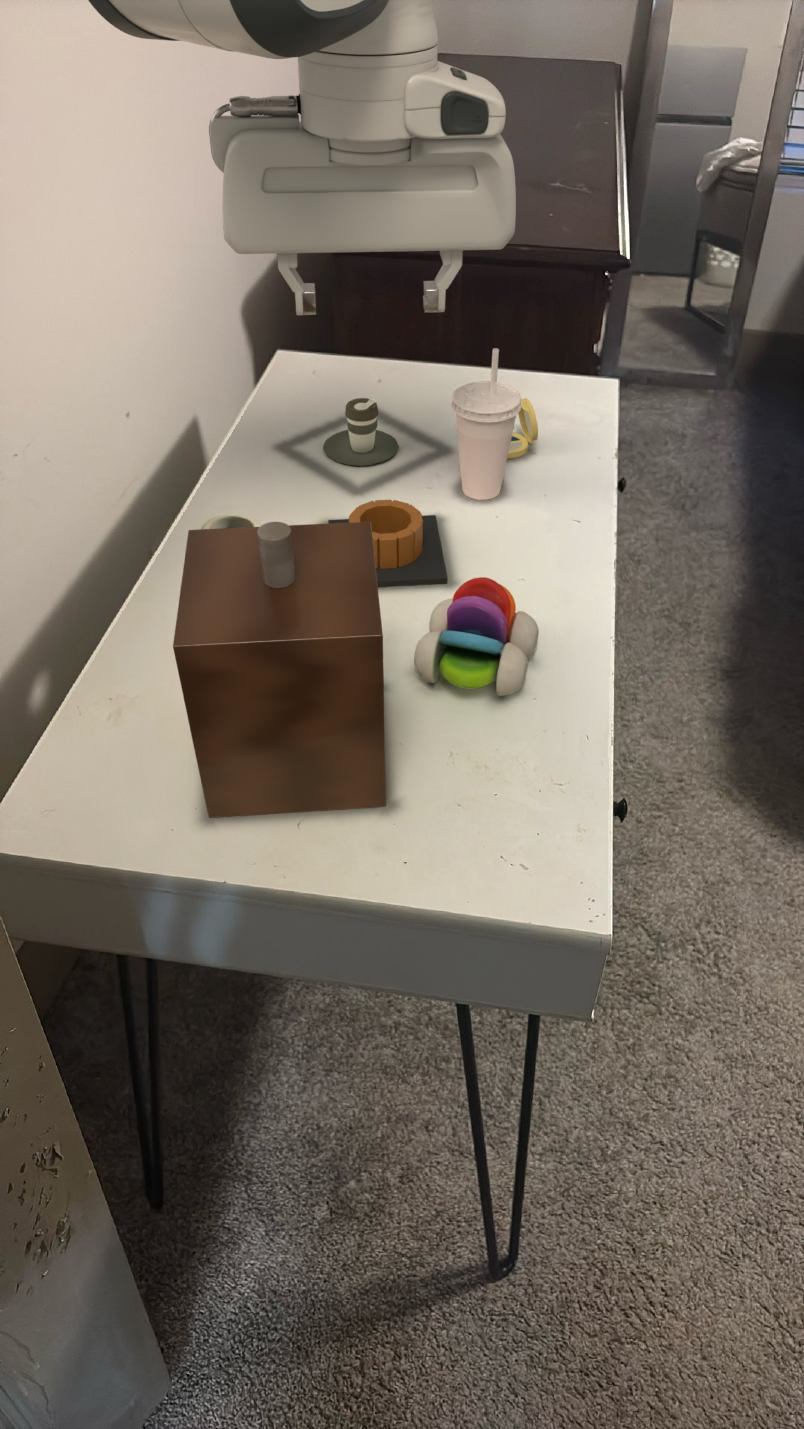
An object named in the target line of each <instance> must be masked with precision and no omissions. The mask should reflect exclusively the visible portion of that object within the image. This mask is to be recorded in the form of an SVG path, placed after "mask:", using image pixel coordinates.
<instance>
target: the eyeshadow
mask: <svg viewBox="0 0 804 1429" xmlns="http://www.w3.org/2000/svg"><path fill="white" fill-rule="evenodd" d="M517 415H518V419H519V425H520V427H521V431H522V433H523V434H520V433H517V432H514V431H513V433H512V438H511V443H510V447H509V452H508V457H507V459H517V458H519V457H522V456H524V455H526V453H527V452H528V450H529V448H528V447H529V443H533V442H535V441H537V440H538V438H539V425H538V420H537V416H536V413H535V409H534V407H533V405H532V402H531V400H530V399H529V398H526V397H525V398H521V410H520V412H519V413H518V414H517Z"/></svg>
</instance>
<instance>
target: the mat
mask: <svg viewBox="0 0 804 1429" xmlns="http://www.w3.org/2000/svg"><path fill="white" fill-rule="evenodd" d="M422 520H423V550H422V553H421V554H420V555H419V556H418V558H417V559H416V560H415V561H414V560H413V562H412V563H409V564H407V565H404V566H402V567H398V566H397V568H389V569H380V566H379V567H378V568H376V574H377V584H378V588H380V587H381V588H382V587H402V586H423V585H425V586H426V585H441V584H442V585H443V584H444V585H445V584H448V573H447V568H446V563H445V557H444V552H443V546H442V541H441V537H440V531H439V525H438V520H437V516H436V515H435V514H431V515H430V514H428V515H422ZM329 523H349V518H343V519H341V518H340V519H328V523H327V524H329Z"/></svg>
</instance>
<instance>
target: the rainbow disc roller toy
mask: <svg viewBox="0 0 804 1429" xmlns="http://www.w3.org/2000/svg"><path fill="white" fill-rule="evenodd" d="M516 609H517V606H516V601H515V598H514V597H513V594H512V593H511V592H510V590H508V588H506V587H505V586H503V585H502V584H500V583H498V582H497V581H496V580H494V579H492V578H490V577H485V576H483V577H482V576H481V577H480V576H479V577H474V578H471V579H469V580H467V581H465V582H464V583H462V584H461V585H460V586H459V587H458V588H457V589H456V590H455V592H454V593H453V596H452V598H447V599H445V600H442V601H440V602H439V603H438V604H437V605H435V607H434V608H433V609H432V612H431V614H430V618H429V623H428V624H429V625H428V626H429V627H428V628H429V632H428V633H426V634H425V635H423V636H422V637H421V638H420V639H419V640H418V641H417V644H416V646H415V649H414V655H413V665H414V668H415V670H416V672H417V673H418V675H420V677H421V678H422V679H424V680H425V681H427V682H429V683H431V684H435V683H437V682H438V680H439V679H440V676H442V677H443V679H445V680H446V681H447V682H448V683H450V684H451V685H453V686H455V687H457V688H461V689H468V690H469V689H470V690H471V689H472V690H474V689H480V688H483V687H486V686H489V685H490V684H492V683H494V682H495V680H496V683H495V692H496V695H497V696H508V695H512V694H514V693H516V692H517V691H518V690H520V689H521V688H522V686H523V685H524V683H525V682H526V681H525V680H526V677H527V674H528V673H527V672H528V666H529V665H528V664H529V663H528V658H530V657H531V656H532V655H533V654H534V653H535V651H536V649H537V646H538V645H537V644H538V640H539V632H540V629H539V626H538V623H537V622H536V620H535V619H534V618H533V617H532V615H530V614H528V613H527V612H525V611H523V610H519V611H517V612H516Z"/></svg>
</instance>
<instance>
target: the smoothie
mask: <svg viewBox="0 0 804 1429" xmlns="http://www.w3.org/2000/svg"><path fill="white" fill-rule="evenodd" d="M499 354H500V349H499V348H497V347H495V348H492V352H491V369H490V370H491V372H490V381H487V380H485V381H484V380H483V381H481V380H480V381H473V382H468V383H465V384H463V385H460V386H459V387H458V388H456V389H455V390H454V391H453V392H452V396H451V404H450V406H451V410H452V411H453V412H454V413H455V414H454V415H455V427H456V436H457V446H458V457H459V468H460V479H461V489H462V490H461V491H462V493H463V494H464V495H465V496H466V497H468V498H471V499H472V500H478V501H486V500H487V501H488V500H491V499H494V498H497V497H498V496H499V495H500V493H501V490H502V484H503V480H504V476H505V471H506V466H507V461H508V458H507V457H508V452H509V447H510V443H511V438H512V433H513V432H514V429H515V424H516V419H517V415H519V414H518V413H519V412H520V410H521V399H522V396H521V393H520V392H519V391H518V389H516V388H514V387H512V386H510V385H508V384H506V383H502V382H498V369H499Z"/></svg>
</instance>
